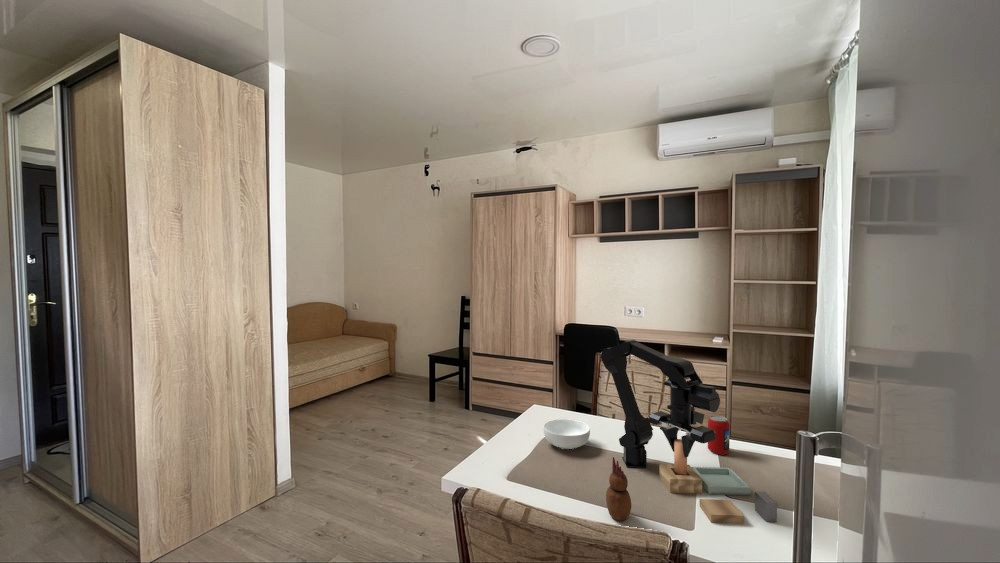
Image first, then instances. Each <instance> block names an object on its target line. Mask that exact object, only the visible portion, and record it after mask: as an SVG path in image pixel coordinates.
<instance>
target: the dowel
mask: <svg viewBox="0 0 1000 563" xmlns="http://www.w3.org/2000/svg"><path fill="white" fill-rule="evenodd" d="M673 453H674V454H673V456H674V458H673V463H674V471H675V472H676V473H679V474H687V465H688V457H685V456H684V453H683V445H682V438H677V439H675V440H674V452H673Z"/></svg>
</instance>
